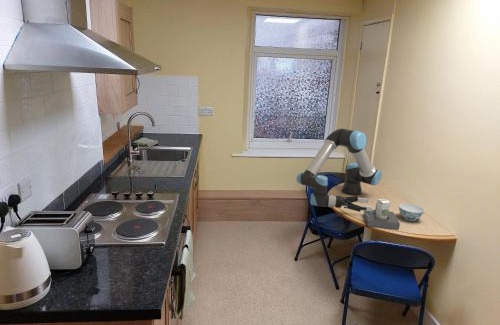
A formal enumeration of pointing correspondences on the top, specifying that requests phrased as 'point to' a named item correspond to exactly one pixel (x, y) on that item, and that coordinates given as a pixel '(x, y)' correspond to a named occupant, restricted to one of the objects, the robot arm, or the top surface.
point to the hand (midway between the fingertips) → (369, 204)
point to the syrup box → (382, 209)
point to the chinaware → (411, 211)
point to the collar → (381, 220)
